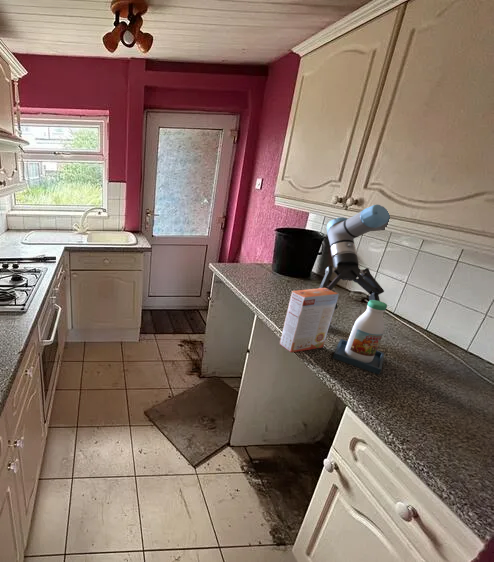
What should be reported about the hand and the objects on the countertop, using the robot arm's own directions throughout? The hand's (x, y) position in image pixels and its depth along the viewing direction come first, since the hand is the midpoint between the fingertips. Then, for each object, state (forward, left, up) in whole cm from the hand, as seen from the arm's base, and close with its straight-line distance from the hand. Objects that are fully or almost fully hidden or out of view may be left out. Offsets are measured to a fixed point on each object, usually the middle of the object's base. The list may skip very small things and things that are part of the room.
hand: (355, 311), depth 107 cm
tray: (-5, +7, -13) cm, 16 cm away
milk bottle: (-5, +7, -13) cm, 16 cm away
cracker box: (+11, +13, -13) cm, 22 cm away
